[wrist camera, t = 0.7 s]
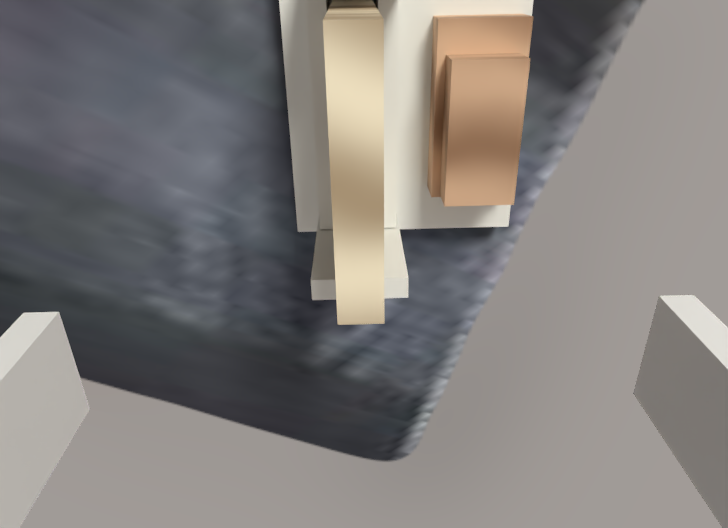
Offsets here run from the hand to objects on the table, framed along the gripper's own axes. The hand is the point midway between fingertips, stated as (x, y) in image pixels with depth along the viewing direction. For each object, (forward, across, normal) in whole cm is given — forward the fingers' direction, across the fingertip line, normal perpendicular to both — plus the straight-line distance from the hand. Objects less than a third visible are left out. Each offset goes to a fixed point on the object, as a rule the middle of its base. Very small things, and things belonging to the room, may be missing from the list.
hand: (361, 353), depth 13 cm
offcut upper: (+22, +7, -1) cm, 23 cm away
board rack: (+26, +3, 0) cm, 26 cm away
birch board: (+24, 0, 0) cm, 24 cm away
